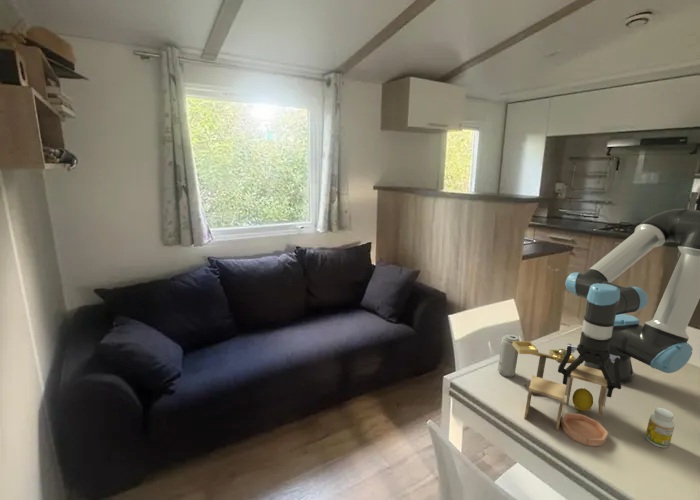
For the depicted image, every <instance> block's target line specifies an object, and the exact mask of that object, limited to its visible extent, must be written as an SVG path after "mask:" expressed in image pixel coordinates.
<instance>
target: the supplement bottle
mask: <svg viewBox="0 0 700 500" xmlns="http://www.w3.org/2000/svg"><path fill="white" fill-rule="evenodd" d="M674 416H675V415H674V414H673V412H671V411H670V410H668V409H666V408H663V407H656V408H655V409H654V411H653V413H652V414H651V415H650V416H649V419H648V423H647V427H646V431H645V435H644V436H645V438H646V440H647V441H648V442H649V443H650V444H652V445H653V446H655V447H659V448H662V449H665V448H669V447H670V444H671V440H672V436H673V433H674V430H675V422H674V421H673V420H674Z"/></svg>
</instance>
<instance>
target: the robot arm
mask: <svg viewBox="0 0 700 500" xmlns="http://www.w3.org/2000/svg"><path fill="white" fill-rule="evenodd" d="M666 243H676V244H678V246H677V249H678V250H679V252H680V256H679V259H678V261H677V263H676V265H675V267H674V270H673V272H672V274H671V276H670V279H669V281H668V284H667V286H666V288H665V289H664V293H663V294H662V295H663V296H662V298H661V299H660V302H659V304H658V306H657V309H656V311H655V313H654V315H653V318H652V319H651V320H648V321H645V322H644V324H643V325H641V324H640V323H641V322H640V319H639V318H638V317H636V316H634V315H630V313H636V312H637V311H641V310H643V309H645V308H646V307H647V306H648V302H649V300H648V299H649V297H648V295H647V293H646V292H645V290H644V289H642V288H640V287H638V286H622V285H619V284H615V283H612V282H613V281H615V280H616V279H617V278H619V277H620V276H621V275H622V274H623V273H625V272H626V271H627V270H629V268H630V267H632V266H633V265H634V264H636V263H637V262H638V261H640V259H642V258H644V256H645V255H647V254H648V253H650V251H652V250H653V249H655V248H658V247H662V246H663V245H665V244H666ZM565 289H566V290H567V291H568V292H570V293H571V294H573V295H575V296H577V297H581V298H583V299H586V305H585V311H584V312H585V313H584V316H583V321H582V327H581V333H580V339H579V344H578V345H573V344H571V343H567V346H566V350H567V351H566V353H565V355H564V357H563V359H562V361H561V363H559V365H558V368H557V373H559V374H562V376H563V377H562V384H563V385H566V388H565V397H567V395H568V389H569V383H570V377H571V372H572V371H574V370H575V369H576V368H577V367H578V366H579V365H582V364H583V363H584V364H583V366H587V367H591V368H594V369H598V370H601V371H602V373H603V375H604V378H605V379H606V380H607V389H606V394H605V399H604V404H603V408H605V407H606V403H607V399H608V398H612V395H613V390H614V389H617V390H620V389H622V384H626V383H630V382H632V380H633V377H634V369H633V365H632V358H633V359H634V360H637V361H638V362H641V363H643V364H644V365H647V366H648V367H650V368H652V369H655V370H658V371H661V372H662V373H666V374H672V373H676V372H678V371H679V370H681V369H682V368H684V367H685V366H686V364H687V363H688V362H689V361H690V360H691V357H692V354H693V347H692V345H691V344H689V342H688V341H689V339H690V337H689V335H688V334H687V332H686V329H687V328H688V325H689V323H690V322H691V319H692V317H693V314H694V312H695V310H696V307H697V305H698V304H699V301H700V210H698V209H697V210H696V209H688V208H673V209H669V210H664V211H662V212H660V213H657V214H654V215H653V216H649V217H648V218H647V219H645V220H644V221H642V222H640V223H639V224H638V225H637V226H636V227H635V228H634V232H633V233H632V234H631V235H629V236H628V237H627V238H626V239H624V240H623V241H622V242H621V243H619V244H618V245H617V246H616V247H614V249H612V250H611V251H610V252H608V253H607V254H606V255H604V256H603V257H602V258H600V260H598V261H597V262H596V263H595V264H593V265H592V266H591V267H590V268H588V269H587V270H586V271H585V272H576V271H575V272H572V273H569V275H568V276H567V277H566V280H565ZM628 313H629V314H628ZM575 351H577V352H578V354H579V355H578V356H577V357H576V360H574V361H573V362H572V363H569V365H568V366H567V364H568V363H567V362H568V360H569V358H570V356H571V354H574V353H575ZM566 366H567V367H566ZM565 367H566V368H565Z"/></svg>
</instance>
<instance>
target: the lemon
mask: <svg viewBox="0 0 700 500" xmlns="http://www.w3.org/2000/svg"><path fill="white" fill-rule="evenodd" d="M572 404H573V406H574V407H575V408H576V409H577V410H579V411H580V412H587V411H590V410H591V409H592V407H593V405H594V396H593V394H592V393H591V391H590V390H588V389H586V388H585V387H584V388H583V387H581V388H577V389H576V390H575V391H574V392H573V395H572Z"/></svg>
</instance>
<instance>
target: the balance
mask: <svg viewBox="0 0 700 500" xmlns="http://www.w3.org/2000/svg"><path fill="white" fill-rule="evenodd" d="M512 345H513V346H514V348H515V349H516V350H517V351H518V355H532V356H537V357H539V359H538V364H537V365H538V366H537V372H536V377H540V378H543V379H544V374H545V373H544V372H545V367H546V361H547V359H549V360H553V361H556V363H559V364H560V363H561V361H562V359H563V357H564V355H565V353H566V351H567V349H565V348H559V349H549V352H548V354H547V353H542V352H539V349H538V348H537V347H536V346H535V345H534V344H533V343H532V341H525V340H523V341H522V340H519V341H513V343H512ZM576 359H577V357H575V356H574V355H573V353H571V356H570V358H569V360H568V362H567V364H571V363H572V362H573V361H574V360H576ZM530 383H531V382H524V383H523V386H524V387H525V389H526V391H527V392H529V387H530ZM532 395H537V396H538V395H540V396H543V395H542V394H539V393H536V392H533V391H532Z"/></svg>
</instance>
